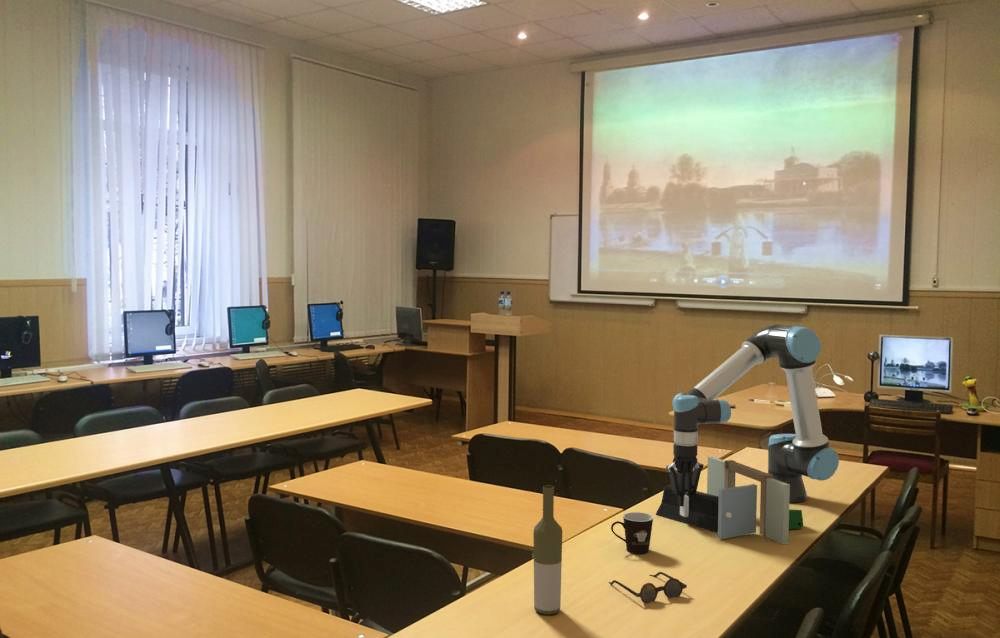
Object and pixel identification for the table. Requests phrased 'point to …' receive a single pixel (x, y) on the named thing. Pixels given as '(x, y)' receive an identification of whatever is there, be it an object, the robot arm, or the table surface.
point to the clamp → (795, 519)
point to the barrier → (691, 509)
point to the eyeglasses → (657, 589)
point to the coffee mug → (636, 532)
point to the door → (737, 511)
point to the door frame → (771, 498)
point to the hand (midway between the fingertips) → (684, 515)
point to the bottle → (547, 558)
